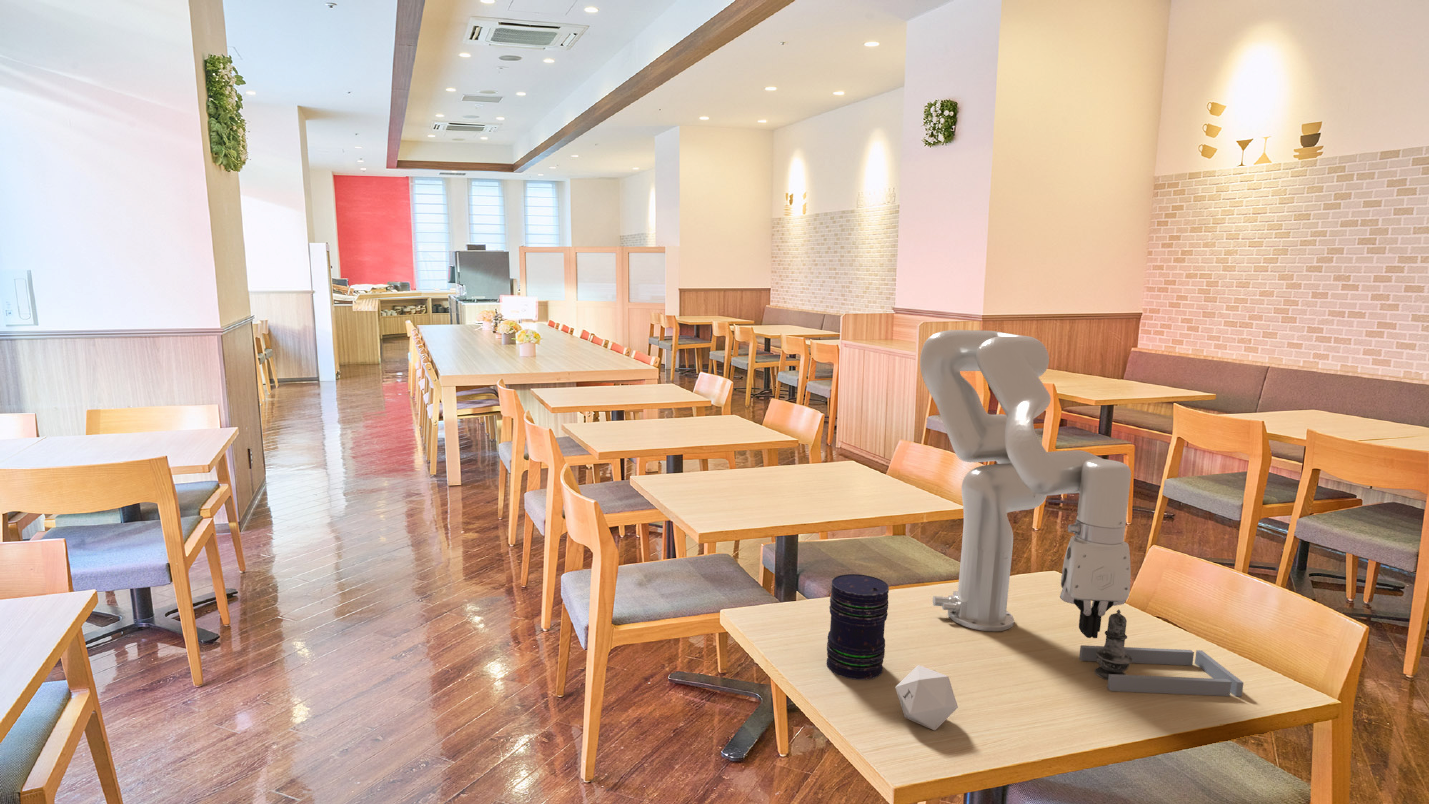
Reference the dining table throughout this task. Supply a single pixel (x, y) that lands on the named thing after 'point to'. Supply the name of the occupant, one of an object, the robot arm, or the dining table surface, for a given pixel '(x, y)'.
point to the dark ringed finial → (1113, 648)
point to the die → (926, 697)
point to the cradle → (1173, 685)
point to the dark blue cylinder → (857, 626)
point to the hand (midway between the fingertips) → (1088, 634)
